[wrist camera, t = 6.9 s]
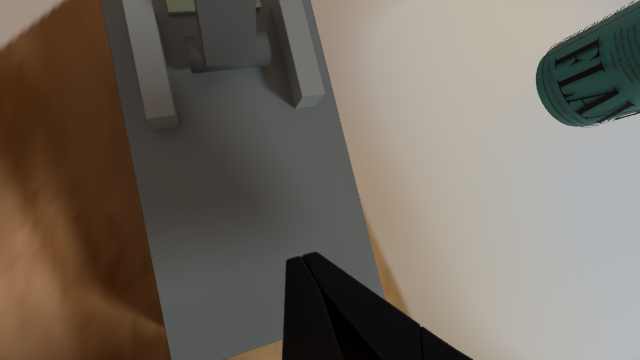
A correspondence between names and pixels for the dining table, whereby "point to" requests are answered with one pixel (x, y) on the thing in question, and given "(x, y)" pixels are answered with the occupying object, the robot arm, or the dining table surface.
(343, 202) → the base
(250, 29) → the lever
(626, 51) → the beverage bottle
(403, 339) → the robot arm
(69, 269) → the dining table surface
